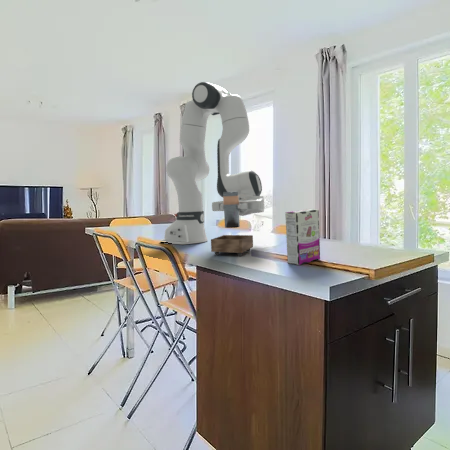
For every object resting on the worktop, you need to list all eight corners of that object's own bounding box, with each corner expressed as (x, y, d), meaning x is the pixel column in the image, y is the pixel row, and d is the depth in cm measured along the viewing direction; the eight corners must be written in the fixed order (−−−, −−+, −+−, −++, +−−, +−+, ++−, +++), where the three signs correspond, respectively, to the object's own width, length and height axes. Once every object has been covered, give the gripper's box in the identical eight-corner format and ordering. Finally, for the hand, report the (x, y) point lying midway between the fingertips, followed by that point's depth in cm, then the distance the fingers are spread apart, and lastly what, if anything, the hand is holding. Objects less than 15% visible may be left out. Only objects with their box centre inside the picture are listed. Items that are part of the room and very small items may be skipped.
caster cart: (211, 255, 131) (210, 239, 130) (224, 249, 142) (223, 234, 141) (242, 257, 126) (241, 240, 126) (253, 250, 137) (252, 235, 137)
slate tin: (222, 227, 132) (220, 192, 130) (228, 226, 137) (226, 192, 135) (236, 227, 129) (234, 191, 128) (242, 226, 135) (240, 191, 133)
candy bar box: (308, 257, 120) (307, 209, 119) (320, 259, 117) (319, 209, 115) (286, 263, 113) (284, 211, 112) (298, 265, 109) (297, 212, 108)
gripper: (219, 197, 148) (204, 199, 135) (267, 195, 140) (256, 197, 127) (220, 212, 149) (205, 216, 136) (267, 211, 140) (256, 215, 128)
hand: (230, 206), depth 131 cm, fingers closed on slate tin, 5 cm apart
